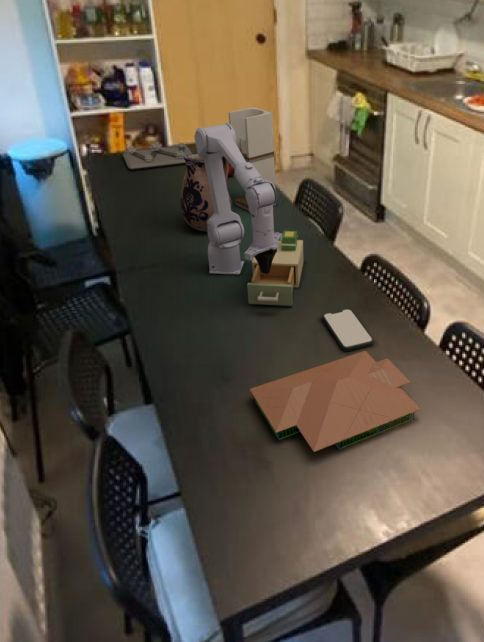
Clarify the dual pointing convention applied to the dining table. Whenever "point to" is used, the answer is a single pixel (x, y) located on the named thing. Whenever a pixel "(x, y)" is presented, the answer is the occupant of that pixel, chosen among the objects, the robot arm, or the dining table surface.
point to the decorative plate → (156, 156)
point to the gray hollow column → (255, 142)
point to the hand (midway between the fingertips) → (265, 272)
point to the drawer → (272, 286)
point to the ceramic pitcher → (198, 192)
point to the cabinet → (287, 259)
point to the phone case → (347, 330)
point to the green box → (289, 240)
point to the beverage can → (230, 170)
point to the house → (336, 400)
